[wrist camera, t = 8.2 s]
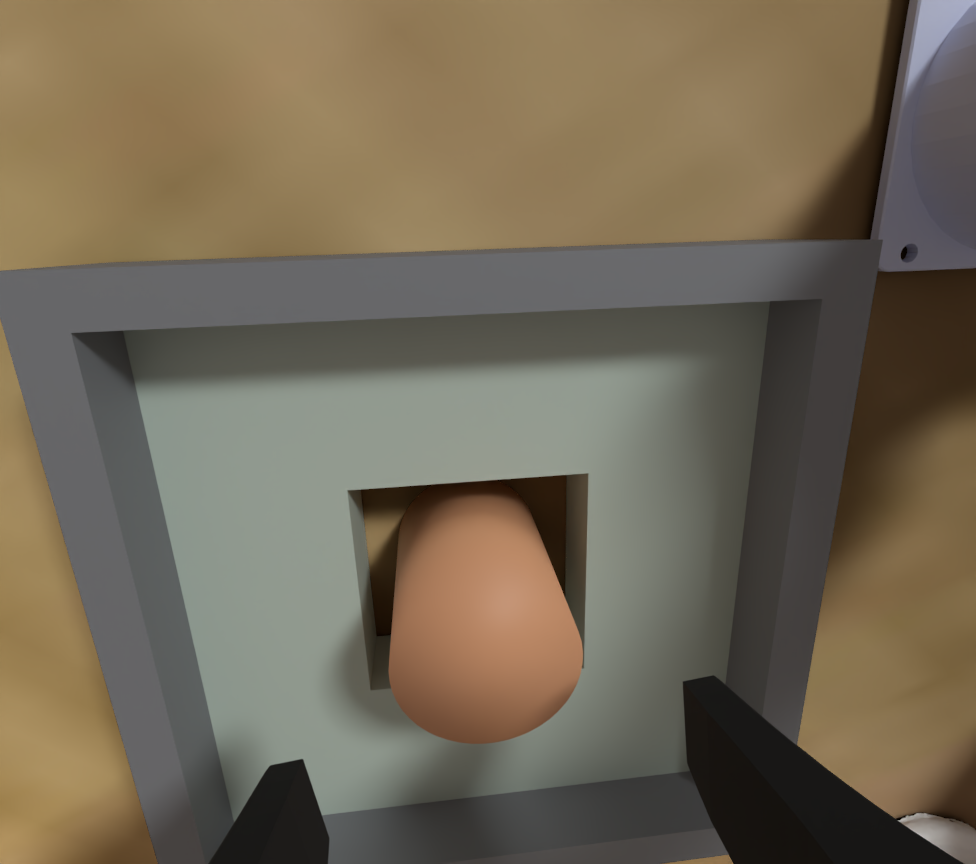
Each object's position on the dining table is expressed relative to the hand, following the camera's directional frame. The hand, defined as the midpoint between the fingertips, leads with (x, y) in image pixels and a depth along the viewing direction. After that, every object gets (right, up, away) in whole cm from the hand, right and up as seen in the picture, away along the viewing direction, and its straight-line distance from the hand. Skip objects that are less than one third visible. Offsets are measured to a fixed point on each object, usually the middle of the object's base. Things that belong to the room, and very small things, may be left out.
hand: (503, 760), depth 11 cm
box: (-1, +3, +8) cm, 8 cm away
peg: (-1, +3, +8) cm, 8 cm away
